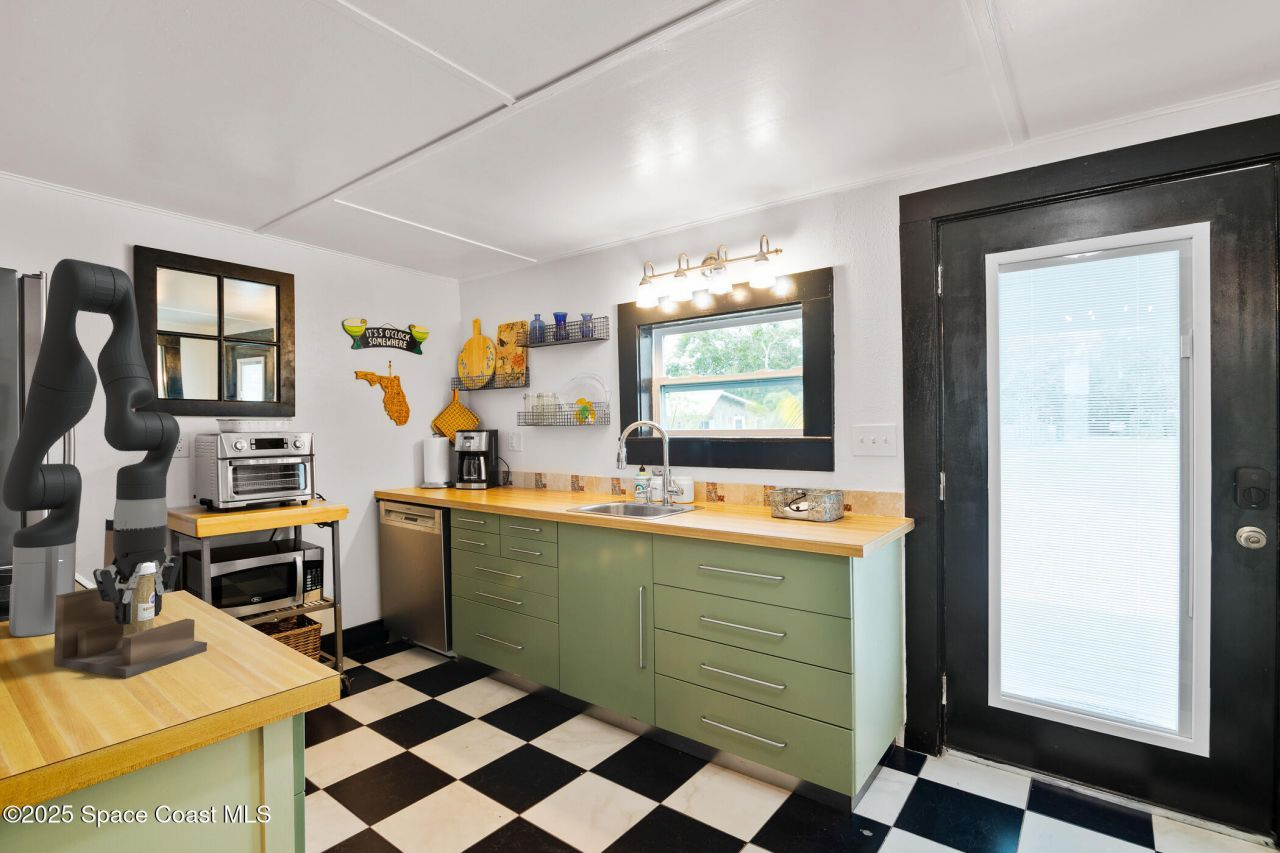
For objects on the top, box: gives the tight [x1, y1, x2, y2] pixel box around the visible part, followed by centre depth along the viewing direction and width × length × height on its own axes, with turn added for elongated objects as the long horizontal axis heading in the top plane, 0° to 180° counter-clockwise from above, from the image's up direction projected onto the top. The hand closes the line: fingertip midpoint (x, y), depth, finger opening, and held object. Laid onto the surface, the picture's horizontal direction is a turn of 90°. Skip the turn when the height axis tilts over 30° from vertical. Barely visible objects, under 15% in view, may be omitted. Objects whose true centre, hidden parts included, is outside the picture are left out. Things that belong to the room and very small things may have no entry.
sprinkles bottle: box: [123, 562, 156, 637], centre depth 112 cm, size 5×5×14 cm
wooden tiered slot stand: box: [53, 586, 208, 679], centre depth 112 cm, size 17×14×12 cm
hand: (138, 619), depth 112 cm, fingers closed on sprinkles bottle, 4 cm apart
